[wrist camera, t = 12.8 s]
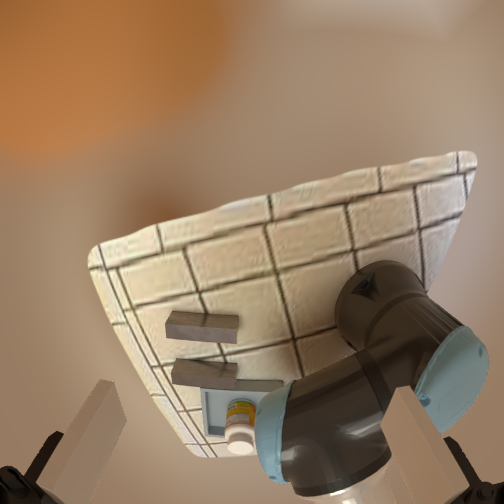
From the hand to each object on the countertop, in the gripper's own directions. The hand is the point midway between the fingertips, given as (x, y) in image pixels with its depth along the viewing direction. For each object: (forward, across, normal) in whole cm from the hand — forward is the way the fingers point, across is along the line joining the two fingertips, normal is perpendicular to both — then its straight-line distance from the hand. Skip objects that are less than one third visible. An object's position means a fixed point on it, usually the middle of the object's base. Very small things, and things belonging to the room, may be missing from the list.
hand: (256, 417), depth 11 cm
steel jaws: (+29, +7, +15) cm, 33 cm away
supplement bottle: (+28, +1, +29) cm, 40 cm away
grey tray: (+29, +1, +29) cm, 41 cm away
